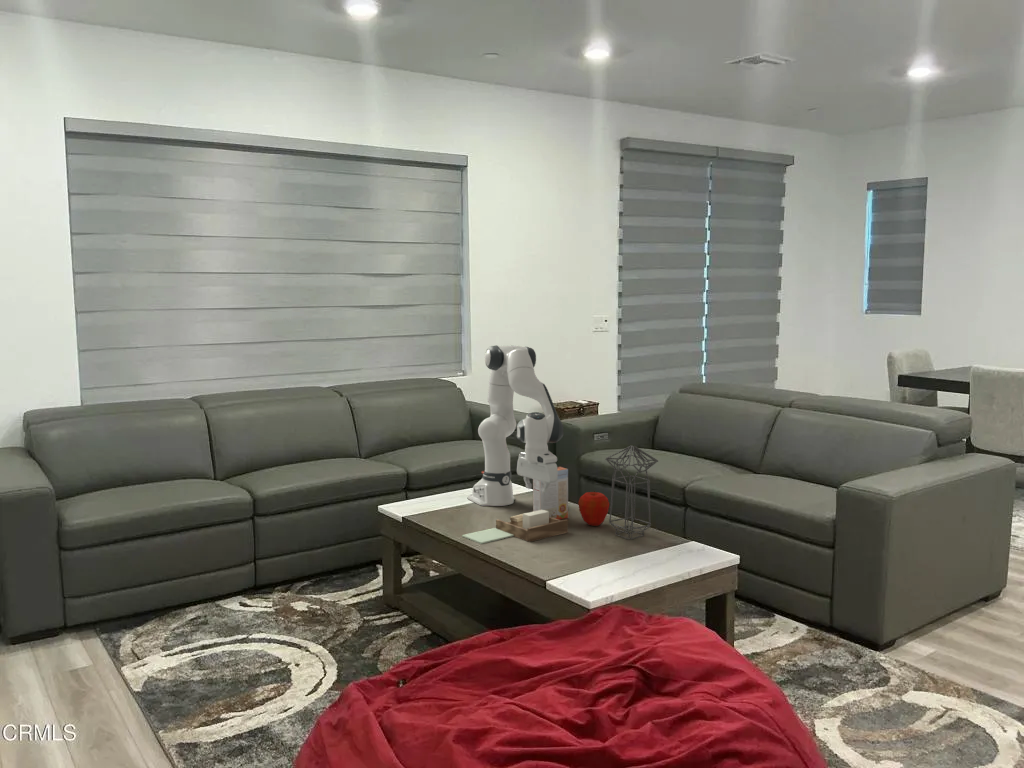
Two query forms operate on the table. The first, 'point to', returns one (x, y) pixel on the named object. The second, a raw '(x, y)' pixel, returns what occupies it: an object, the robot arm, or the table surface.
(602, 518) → the apple
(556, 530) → the wooden frame
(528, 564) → the table surface
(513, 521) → the offcut stack
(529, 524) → the white rectangular block
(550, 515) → the cracker box
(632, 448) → the geometric lantern
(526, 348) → the robot arm
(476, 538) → the mat
